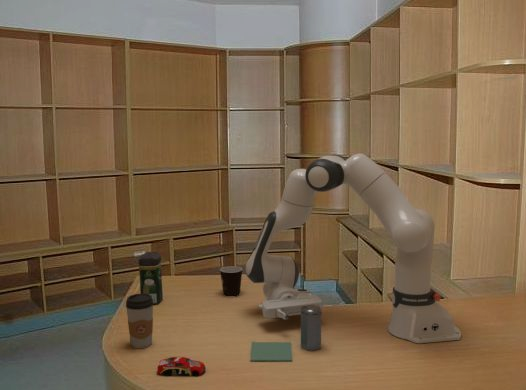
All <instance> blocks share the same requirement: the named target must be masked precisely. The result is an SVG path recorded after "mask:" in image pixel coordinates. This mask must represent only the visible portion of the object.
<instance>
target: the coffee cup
mask: <svg viewBox="0 0 526 390" xmlns="http://www.w3.org/2000/svg"><path fill="white" fill-rule="evenodd" d="M154 305H155V304H154V303H153V299H152V296H151V295H149V294H140V293H134V294H132V295H129V296H128V297H127V299H126V300H125V308H126V314H127V316H126V317H127V326H128V335H129V340H130V345H131V347H133V348H135V349H143V348H144V349H145V348H147V347H150V346H151V345H152V342H153V331H154V329H153V327H154V326H153V325H154V317H153V315H154Z"/></svg>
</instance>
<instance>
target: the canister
mask: <svg viewBox="0 0 526 390" xmlns="http://www.w3.org/2000/svg"><path fill="white" fill-rule="evenodd" d="M300 348H301V349H302V350H305V351H307V352H309V351H310V352H313V351H314V352H316V351H318V350H320V349H322V311H321V308H320V307H318V306H315V305H306V306H303V307H301V314H300Z"/></svg>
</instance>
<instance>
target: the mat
mask: <svg viewBox="0 0 526 390" xmlns="http://www.w3.org/2000/svg"><path fill="white" fill-rule="evenodd" d="M291 343H292V342H291V341H278V342H277V341H276V342H275V341H270V342H269V341H260V342H259V341H252V342H251V346H250V347H251V348H250V357H249V358H250V360H249V362H250V363H251V362H252V363H253V362H255V363H256V362H258V363H260V362H262V363H263V362H264V363H265V362H267V363H268V362H269V363H271V362H272V363H273V362H274V363H275V362H278V363H280V362H282V363H283V362H287V363H288V362H289V363H291V362H293V353H292V352H293V351H292V344H291Z"/></svg>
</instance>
